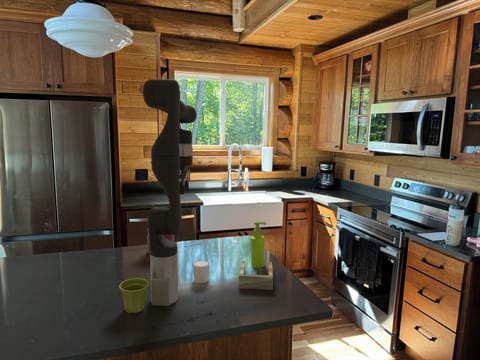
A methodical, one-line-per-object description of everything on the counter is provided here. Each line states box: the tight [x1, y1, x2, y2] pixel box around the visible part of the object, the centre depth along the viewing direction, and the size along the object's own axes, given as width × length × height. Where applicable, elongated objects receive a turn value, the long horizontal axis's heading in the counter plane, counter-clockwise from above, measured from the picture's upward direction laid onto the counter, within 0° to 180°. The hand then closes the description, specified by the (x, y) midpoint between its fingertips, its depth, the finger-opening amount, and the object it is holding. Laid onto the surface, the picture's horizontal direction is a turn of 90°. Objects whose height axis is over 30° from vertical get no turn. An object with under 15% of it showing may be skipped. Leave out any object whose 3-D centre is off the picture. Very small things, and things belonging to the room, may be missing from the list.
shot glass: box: [192, 260, 211, 284], centre depth 134 cm, size 7×7×7 cm
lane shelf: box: [238, 260, 274, 291], centre depth 136 cm, size 18×13×5 cm
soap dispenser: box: [250, 221, 267, 269], centre depth 149 cm, size 6×7×20 cm
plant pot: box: [118, 277, 150, 314], centre depth 111 cm, size 9×9×9 cm
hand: (183, 192), depth 143 cm, fingers open, 8 cm apart
